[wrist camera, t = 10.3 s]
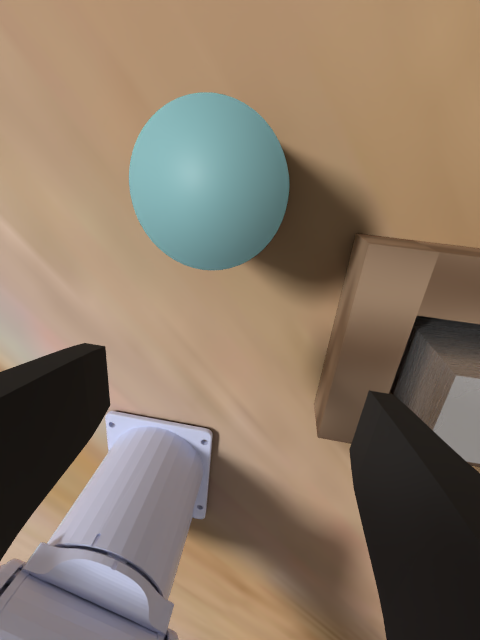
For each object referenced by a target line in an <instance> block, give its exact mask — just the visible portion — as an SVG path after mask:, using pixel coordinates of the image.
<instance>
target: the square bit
mask: <svg viewBox="0 0 480 640" xmlns="http://www.w3.org/2000/svg"><path fill="white" fill-rule="evenodd" d="M391 390H392V392H393V394H394V395H395V396H396V397H397V398H398V399H399V400H401V401H402V402H403V403H404V404H405V405H406V406H407V407H408V408H409V409H410V410H412V411H413V412H414V413H415V414H416V415H417V416H418V417H419V418H420V419H421V420H422V421H423V422H424V423H425V424H426V425H427V426H429V427H430V428H431V429H432V430H433V431H434V432H435V433H436V434H437V435H438V436H439V437H440V438H441V439H442V440H443V441H444V442H446V443H447V444H448V445H449V446H450V447H451V448H452V449H453V450H454V451H455V452H456V453H457V454H459V455H460V456H461V457H462V458H463V459H464V460H465V461H466V462H472V463H478V464H480V324H474V323H466V322H458V321H450V320H442V319H434V318H426V317H418V316H417V317H416V319H415V322H414V325H413V328H412V331H411V333H410V336H409V339H408V342H407V344H406V347H405V350H404V353H403V356H402V358H401V361H400V364H399V367H398V369H397V372H396V375H395V378H394V381H393V383H392V386H391Z"/></svg>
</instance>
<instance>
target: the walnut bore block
mask: <svg viewBox="0 0 480 640" xmlns="http://www.w3.org/2000/svg"><path fill="white" fill-rule="evenodd" d="M417 316H418V317H426V318H434V319H442V320H450V321H458V322H466V323H474V324H480V249H479V248H471V247H463V246H455V245H447V244H438V243H430V242H422V241H414V240H406V239H397V238H389V237H381V236H373V235H365V234H357V233H356V235H355V239H354V243H353V247H352V251H351V256H350V260H349V264H348V268H347V272H346V276H345V280H344V284H343V288H342V292H341V296H340V300H339V305H338V309H337V313H336V317H335V321H334V325H333V329H332V333H331V337H330V341H329V345H328V350H327V354H326V358H325V362H324V366H323V370H322V374H321V378H320V382H319V386H318V390H317V394H316V399H315V403H314V407H315V417H316V426H317V435H318V438H323V439H329V440H334V441H340V442H345V443H351V444H352V440H353V437H354V434H355V431H356V428H357V425H358V422H359V419H360V416H361V413H362V410H363V407H364V404H365V401H366V398H367V394H368V391H369V390H370V391H376V392H382V393H388V394H393V392H392V390H391V386H392V383H393V381H394V378H395V375H396V372H397V369H398V367H399V364H400V361H401V358H402V356H403V353H404V350H405V347H406V344H407V342H408V339H409V336H410V333H411V331H412V328H413V325H414V322H415V319H416V317H417ZM393 395H394V394H393ZM467 463H468V464H470V465H471V466H477V467H480V464H478V463H472V462H467Z"/></svg>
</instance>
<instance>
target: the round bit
mask: <svg viewBox="0 0 480 640" xmlns="http://www.w3.org/2000/svg"><path fill="white" fill-rule="evenodd" d="M129 185H130V194H131V199H132V204H133V207H134V210H135V213H136V215H137V217H138V220H139V222H140V224H141V226H142V227H143V229H144V231H145V232H146V234H147V235H148V236H149V238H150V239H151V240H152V241H153V243H154V244H155V245H156V246H157V247H158V248H159V249H160V250H162V251H163V252H164V253H165V254H166V255H168V256H169V257H171V258H172V259H174V260H176V261H178V262H180V263H182V264H184V265H187V266H190V267H193V268H197V269H202V270H223V269H228V268H232V267H235V266H238V265H240V264H242V263H245V262H247V261H249V260H250V259H251V258H253V257H254V256H256V255H257V254H258V253H259V252H261V251H262V250H263V249H264V248H265V247H266V246H267V245H268V243H269V242H270V241H271V240H272V238H273V237H274V235H275V234H276V232H277V230H278V228H279V226H280V224H281V222H282V220H283V217H284V214H285V211H286V207H287V202H288V196H289V187H290V185H289V173H288V168H287V163H286V159H285V156H284V152H283V150H282V148H281V145H280V143H279V140H278V139H277V137H276V135H275V134H274V132H273V130H272V129H271V128H270V126H269V125H268V124H267V122H266V121H265V120H264V119H263V118H262V117H261V116H260V115H259V114H258V113H257V112H256V111H255V110H253V109H252V108H250V107H249V106H248V105H246V104H245V103H243V102H241V101H239V100H237V99H235V98H232V97H229V96H226V95H223V94H217V93H194V94H189V95H185V96H182V97H179V98H177V99H175V100H173V101H171V102H169V103H167V104H166V105H165V106H163V107H162V108H161V109H159V110H158V111H157V112H156V113H155V114H154V115H153V116H152V117H151V118H150V119H149V121H148V122H147V123H146V125H145V126H144V127H143V129H142V131H141V133H140V134H139V136H138V138H137V141H136V143H135V146H134V149H133V153H132V156H131V162H130V169H129Z"/></svg>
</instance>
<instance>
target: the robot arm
mask: <svg viewBox="0 0 480 640" xmlns="http://www.w3.org/2000/svg"><path fill="white" fill-rule="evenodd" d="M109 407H110V397H109V385H108V373H107V361H106V350H105V346H99V345H93V344H87V343H83V344H79V345H76V346H72V347H69V348H66V349H63V350H60V351H57V352H54V353H52V354H49V355H46V356H43V357H41V358H38V359H35V360H32V361H30V362H27V363H24V364H21V365H19V366H16V367H13V368H10V369H7V370H5V371H2V372H0V561H1V559H2V557H3V556H4V554H5V553H6V551H7V550H8V548H9V547H10V545H11V544H12V542H13V541H14V539H15V537H16V536H17V534H18V533H19V532H20V530H21V529H22V527H23V526H24V525H25V523H26V522H27V521H28V519H29V518H30V516H31V515H32V514H33V512H34V511H35V510H36V508H37V507H38V506H39V505H40V503H41V502H42V501H43V499H44V498H45V497H46V496H47V494H48V493H49V492H50V491H51V489H52V488H53V487H54V485H55V484H56V483H57V482H58V480H59V479H60V478H61V476H62V475H63V474H64V473H65V471H66V470H67V469H68V467H69V466H70V465H71V464H72V462H73V461H74V460H75V458H76V457H77V456H78V454H79V453H80V452H81V450H82V449H83V448H84V447H85V445H86V444H87V443H88V441H89V440H90V439H91V437H92V436H93V434H94V432H95V431H96V429H97V427H98V426H99V424H100V423H101V421H102V419H103V417H104V415H105V414H106V412H107V410H108V408H109ZM105 419H106V429H107V440H108V450H109V452H108V454H107V455H106V457H105V458H104V460H103V461H102V463H101V464H100V466H99V467H98V469H97V470H96V471H95V473H94V474H93V476H92V477H91V479H90V480H89V482H88V483H87V485H86V486H85V488H84V489H83V491H82V492H81V494H80V495H79V497H78V498H77V500H76V501H75V503H74V504H73V506H72V507H71V508H70V510H69V511H68V513H67V514H66V516H65V517H64V519H63V520H62V522H61V523H60V525H59V526H58V528H57V529H56V531H55V532H54V534H53V535H52V537H51V538H50V540H49V541H48V543H47V544H46V543H44V542H42V543H40V544H39V545H38V547H37V548H36V550H35V551H34V553H33V554H32V556H31V557H30V558H29V560H28V561H27V563H26V564H25V562H23V561H21V560H19V559H12V560H10V561H8V562H7V563H6V564H4V565H1V566H0V640H179V639H178V636H177V633H176V632H174V631H173V630H171V629H169V628H168V625H169V621H170V617H171V614H172V610H173V607H174V604H173V603H172V602H170V601H168V600H167V599H168V597H169V595H170V592H171V589H172V585H173V582H174V578H175V575H176V572H177V568H178V565H179V561H180V558H181V555H182V551H183V548H184V544H185V541H186V537H187V534H188V531H189V527H190V524H191V520H192V518H196V519H203V518H205V515H206V508H207V496H208V484H209V473H210V461H211V449H212V437H213V434H212V432H211V430H209V429H207V428H202V427H196V426H191V425H185V424H180V423H175V422H169V421H164V420H158V419H153V418H148V417H142V416H137V415H131V414H126V413H121V412H115V411H110V412H109V413H108V414H107V415H106V418H105ZM112 422H113V423H112ZM204 440H206V441H204ZM350 458H351V469H352V477H353V485H354V491H355V496H356V500H357V504H358V509H359V513H360V517H361V522H362V526H363V530H364V534H365V538H366V543H367V547H368V551H369V555H370V559H371V564H372V568H373V572H374V576H375V580H376V585H377V589H378V593H379V598H380V603H381V608H382V613H383V618H384V625H385V631H386V638H387V640H480V473H479V472H477V471H476V470H475V469H474V468H473V467H472V466H471V465H470V464H468V463H467V462H466V461H465V460H464V459H463V458H462V457H461V456H460V455H459V454H457V453H456V452H455V451H454V450H453V449H452V448H451V447H450V446H449V445H448V444H447V443H446V442H444V441H443V440H442V439H441V438H440V437H439V436H438V435H437V434H436V433H435V432H434V431H433V430H432V429H431V428H430V427H429V426H427V425H426V424H425V423H424V422H423V421H422V420H421V419H420V418H419V417H418V416H417V415H416V414H415V413H414V412H413V411H412V410H410V409H409V408H408V407H407V406H406V405H405V404H404V403H403V402H402V401H401V400H399V399H398V398H397V397H396V396H395V395H393V394H388V393H382V392H376V391H370V390H369V391H368V394H367V398H366V401H365V404H364V407H363V410H362V413H361V416H360V419H359V422H358V425H357V428H356V431H355V434H354V437H353V440H352V444H351V447H350Z"/></svg>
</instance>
